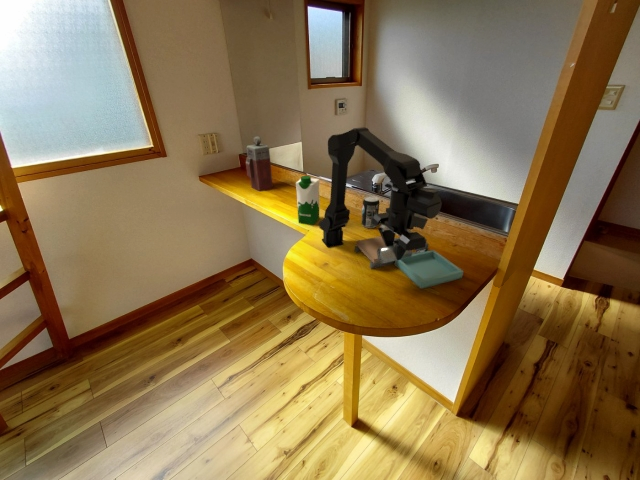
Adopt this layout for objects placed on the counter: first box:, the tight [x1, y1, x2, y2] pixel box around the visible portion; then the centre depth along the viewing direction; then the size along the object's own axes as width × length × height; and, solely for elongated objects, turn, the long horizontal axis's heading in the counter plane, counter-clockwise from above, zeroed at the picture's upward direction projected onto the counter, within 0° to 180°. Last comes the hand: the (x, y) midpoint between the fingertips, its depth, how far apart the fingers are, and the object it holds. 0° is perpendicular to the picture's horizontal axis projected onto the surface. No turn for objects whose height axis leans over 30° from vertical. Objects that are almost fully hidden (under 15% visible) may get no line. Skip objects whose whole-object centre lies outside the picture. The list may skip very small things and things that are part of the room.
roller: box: [377, 245, 413, 263], centre depth 88 cm, size 9×4×4 cm, turn 110°
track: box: [354, 229, 430, 270], centre depth 104 cm, size 22×12×5 cm, turn 110°
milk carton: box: [295, 175, 320, 226], centre depth 126 cm, size 9×9×20 cm
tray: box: [394, 249, 464, 290], centre depth 95 cm, size 15×14×2 cm
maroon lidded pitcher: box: [245, 136, 274, 192], centre depth 163 cm, size 9×11×28 cm
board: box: [355, 235, 386, 263], centre depth 103 cm, size 10×13×3 cm
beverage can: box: [361, 195, 380, 229], centre depth 123 cm, size 7×7×12 cm
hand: (394, 255), depth 88 cm, fingers closed on roller, 4 cm apart
